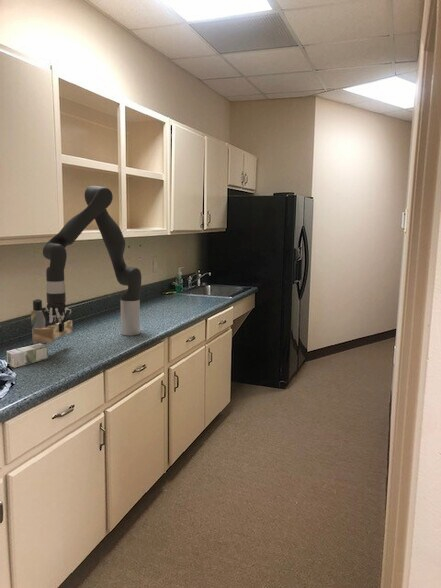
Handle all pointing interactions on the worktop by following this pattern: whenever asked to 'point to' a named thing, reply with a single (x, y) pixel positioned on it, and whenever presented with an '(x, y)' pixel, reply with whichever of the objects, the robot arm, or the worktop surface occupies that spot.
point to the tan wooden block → (51, 332)
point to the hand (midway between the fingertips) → (57, 331)
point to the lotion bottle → (37, 318)
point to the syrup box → (27, 355)
